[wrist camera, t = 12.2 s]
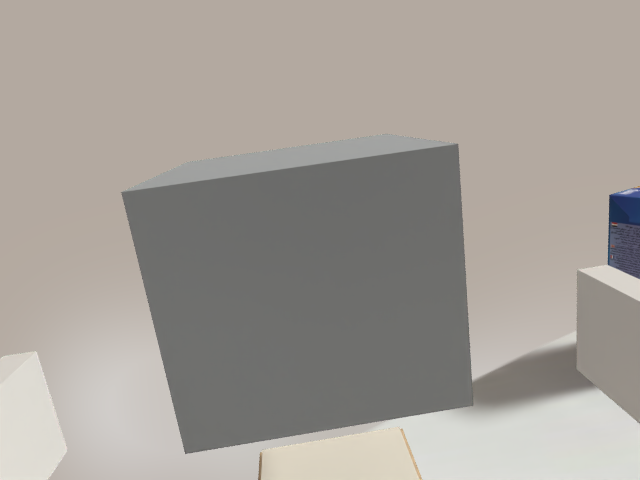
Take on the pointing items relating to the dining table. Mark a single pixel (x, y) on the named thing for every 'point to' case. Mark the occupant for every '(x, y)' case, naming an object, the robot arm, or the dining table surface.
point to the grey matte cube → (307, 287)
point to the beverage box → (625, 231)
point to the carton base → (343, 458)
